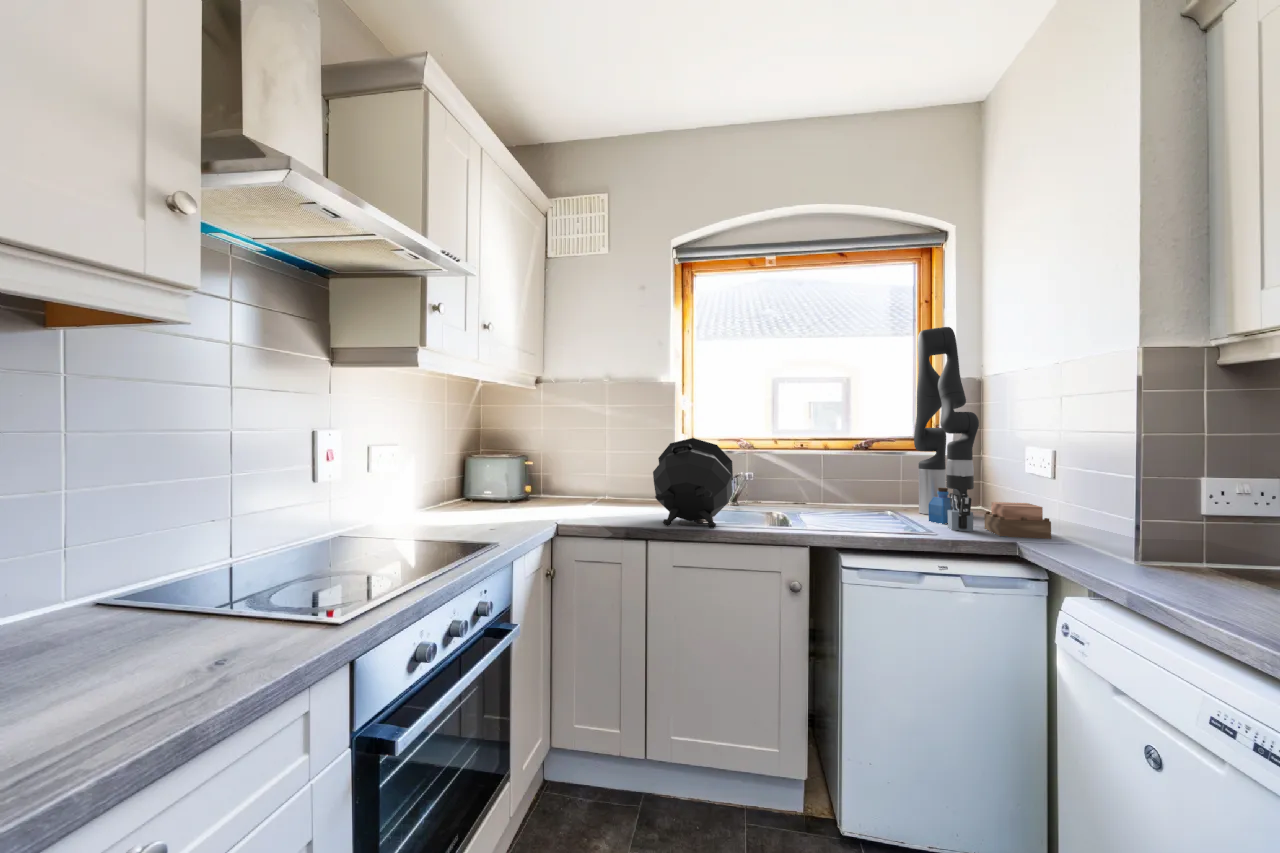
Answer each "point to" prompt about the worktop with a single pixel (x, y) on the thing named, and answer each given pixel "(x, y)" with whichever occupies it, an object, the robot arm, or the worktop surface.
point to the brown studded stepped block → (1017, 520)
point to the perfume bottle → (940, 507)
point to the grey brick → (954, 521)
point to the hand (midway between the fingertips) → (960, 527)
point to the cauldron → (693, 480)
